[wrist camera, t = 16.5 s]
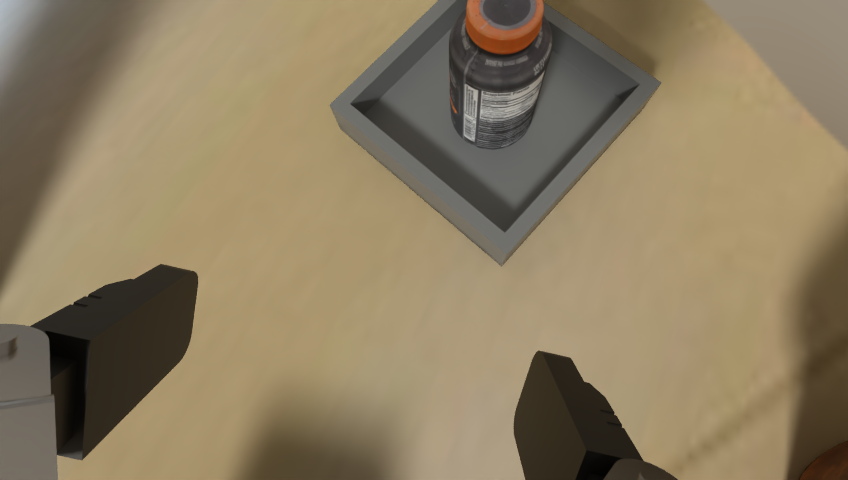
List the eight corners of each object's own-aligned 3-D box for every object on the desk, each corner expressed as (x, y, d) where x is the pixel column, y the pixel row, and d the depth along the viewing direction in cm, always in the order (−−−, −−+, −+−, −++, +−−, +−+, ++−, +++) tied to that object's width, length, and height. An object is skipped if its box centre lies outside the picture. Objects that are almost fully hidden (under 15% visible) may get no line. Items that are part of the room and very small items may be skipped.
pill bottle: (464, 70, 37) (468, -56, 26) (541, 91, 36) (578, -31, 26) (439, 139, 36) (432, 36, 25) (518, 162, 35) (547, 66, 24)
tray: (340, 129, 38) (329, 104, 34) (478, -6, 40) (481, -41, 37) (501, 266, 34) (506, 254, 31) (642, 109, 37) (661, 82, 33)
